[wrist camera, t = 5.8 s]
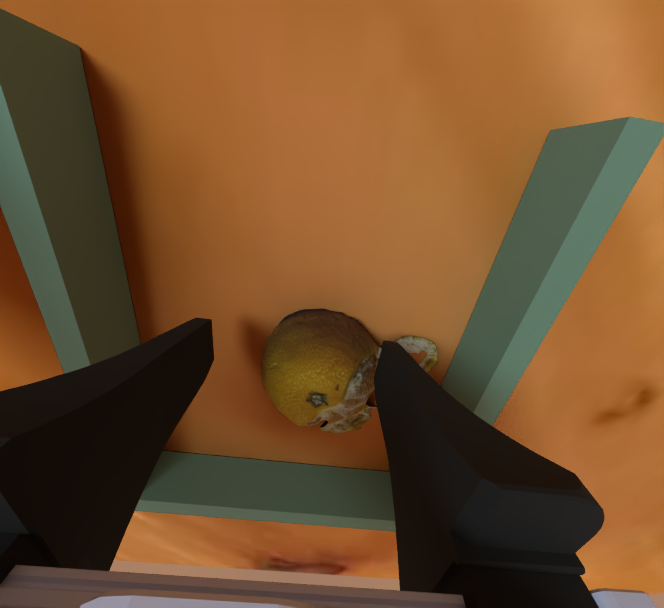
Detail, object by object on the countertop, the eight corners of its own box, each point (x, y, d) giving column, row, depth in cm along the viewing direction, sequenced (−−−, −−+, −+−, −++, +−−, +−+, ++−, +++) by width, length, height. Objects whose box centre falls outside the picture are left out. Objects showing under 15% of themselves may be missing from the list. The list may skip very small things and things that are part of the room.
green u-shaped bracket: (147, 460, 19) (116, 509, 16) (40, 39, 9) (-84, -16, 6) (415, 484, 20) (428, 534, 17) (580, 135, 10) (670, 124, 7)
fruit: (350, 432, 18) (355, 492, 14) (236, 373, 16) (211, 428, 12) (446, 349, 15) (478, 401, 11) (321, 260, 13) (317, 293, 9)
